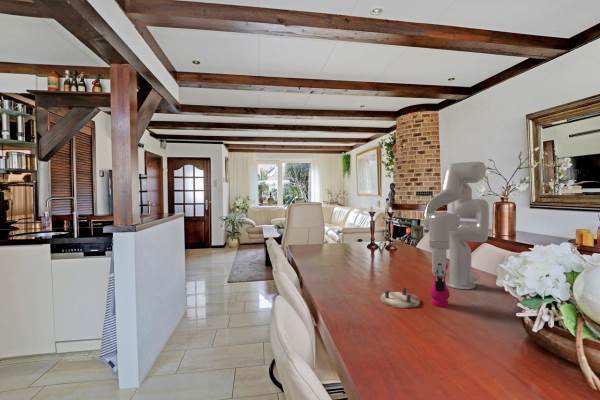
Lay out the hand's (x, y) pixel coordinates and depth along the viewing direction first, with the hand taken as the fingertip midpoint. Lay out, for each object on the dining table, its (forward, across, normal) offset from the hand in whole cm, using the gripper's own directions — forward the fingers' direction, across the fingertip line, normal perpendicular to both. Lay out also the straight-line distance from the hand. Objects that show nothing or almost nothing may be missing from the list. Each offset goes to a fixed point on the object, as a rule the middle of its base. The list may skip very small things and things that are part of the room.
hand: (439, 288), depth 131 cm
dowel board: (+7, +1, -16) cm, 17 cm away
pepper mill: (+7, 0, 0) cm, 7 cm away
